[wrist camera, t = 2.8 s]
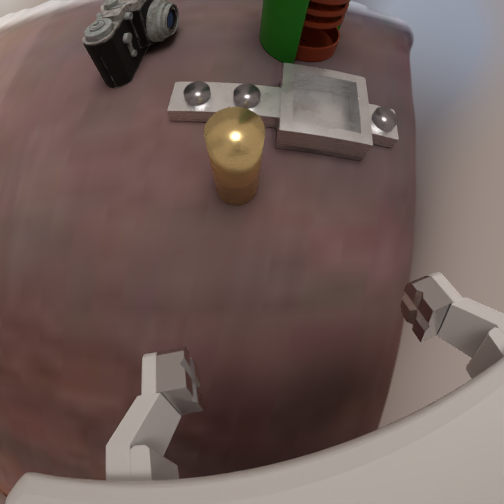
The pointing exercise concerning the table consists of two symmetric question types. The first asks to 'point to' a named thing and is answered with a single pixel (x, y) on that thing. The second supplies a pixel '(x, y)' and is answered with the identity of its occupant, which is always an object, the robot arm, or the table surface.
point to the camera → (127, 35)
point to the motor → (301, 28)
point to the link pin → (235, 152)
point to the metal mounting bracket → (298, 110)
